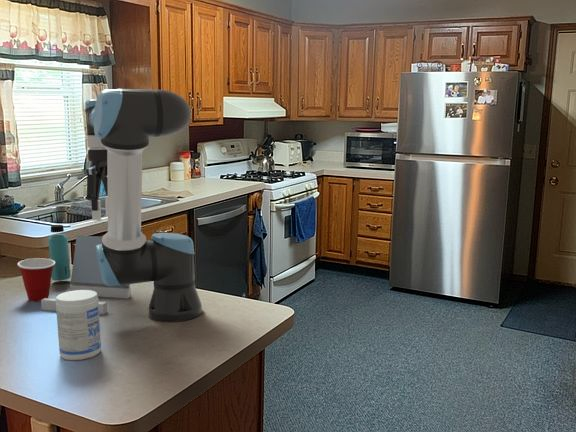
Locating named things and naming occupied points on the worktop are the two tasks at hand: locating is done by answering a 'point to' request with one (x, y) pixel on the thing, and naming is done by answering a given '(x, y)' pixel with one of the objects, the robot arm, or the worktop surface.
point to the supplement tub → (78, 324)
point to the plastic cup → (36, 277)
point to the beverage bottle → (59, 254)
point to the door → (87, 263)
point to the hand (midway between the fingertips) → (103, 218)
